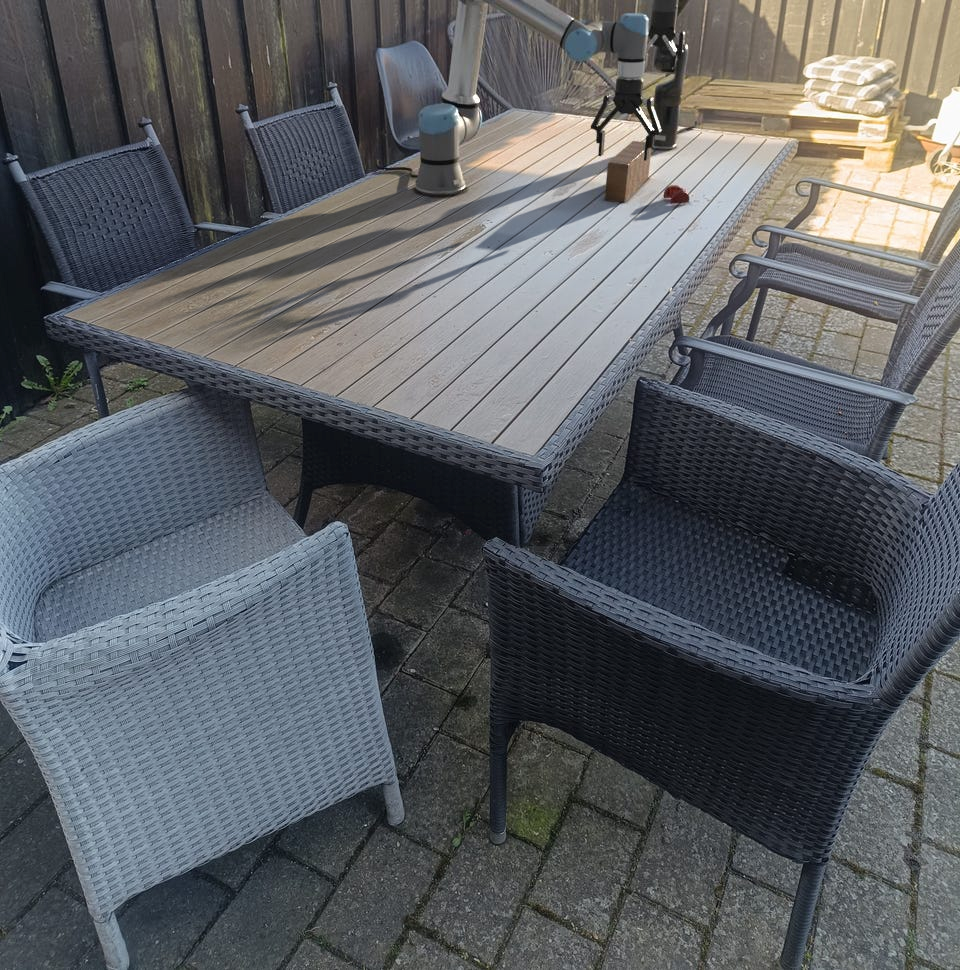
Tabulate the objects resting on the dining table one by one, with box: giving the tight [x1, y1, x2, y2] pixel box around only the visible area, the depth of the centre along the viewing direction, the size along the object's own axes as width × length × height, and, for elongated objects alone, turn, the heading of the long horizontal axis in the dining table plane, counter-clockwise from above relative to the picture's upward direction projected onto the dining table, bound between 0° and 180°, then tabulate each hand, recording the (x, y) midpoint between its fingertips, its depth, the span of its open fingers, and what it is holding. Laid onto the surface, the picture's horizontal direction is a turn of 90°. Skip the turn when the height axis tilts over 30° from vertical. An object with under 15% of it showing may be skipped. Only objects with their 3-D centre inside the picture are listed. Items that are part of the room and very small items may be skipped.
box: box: [604, 140, 653, 203], centre depth 256 cm, size 27×6×11 cm, turn 156°
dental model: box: [663, 184, 690, 205], centre depth 248 cm, size 6×4×8 cm
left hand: (623, 157), depth 246 cm, fingers open, 13 cm apart
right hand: (658, 68), depth 263 cm, fingers open, 8 cm apart
